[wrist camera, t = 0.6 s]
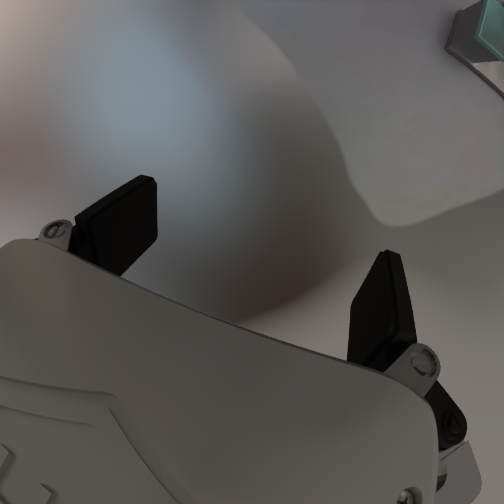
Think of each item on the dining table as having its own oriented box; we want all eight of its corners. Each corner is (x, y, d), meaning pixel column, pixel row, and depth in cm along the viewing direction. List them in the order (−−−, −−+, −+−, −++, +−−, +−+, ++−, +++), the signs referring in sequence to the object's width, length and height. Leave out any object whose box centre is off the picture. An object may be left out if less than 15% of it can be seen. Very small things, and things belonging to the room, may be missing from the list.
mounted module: (460, 10, 15) (488, -5, 8) (485, 28, 14) (517, 20, 7) (449, 45, 19) (478, 36, 12) (474, 64, 19) (507, 61, 12)
